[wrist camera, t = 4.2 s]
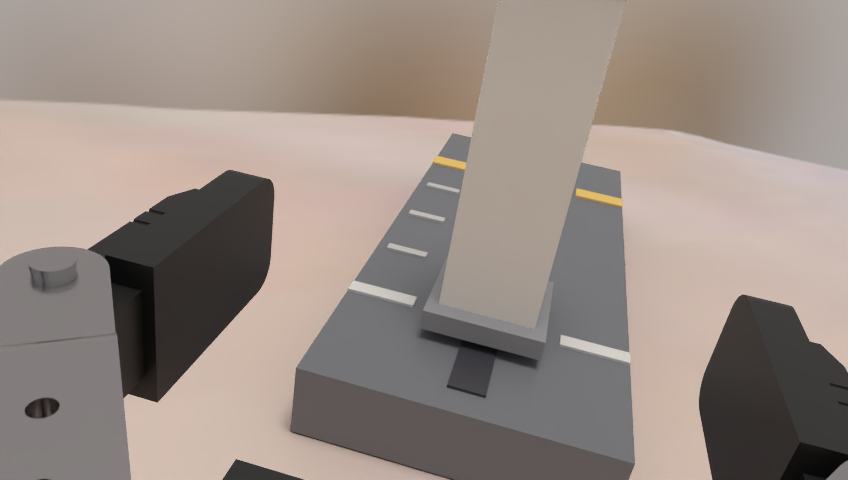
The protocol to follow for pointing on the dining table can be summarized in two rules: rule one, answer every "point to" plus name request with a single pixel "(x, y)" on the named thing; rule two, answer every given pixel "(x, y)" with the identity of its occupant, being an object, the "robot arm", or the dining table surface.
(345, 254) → the dining table surface
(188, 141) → the dining table surface
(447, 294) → the fader tab
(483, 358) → the fader console
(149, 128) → the dining table surface
